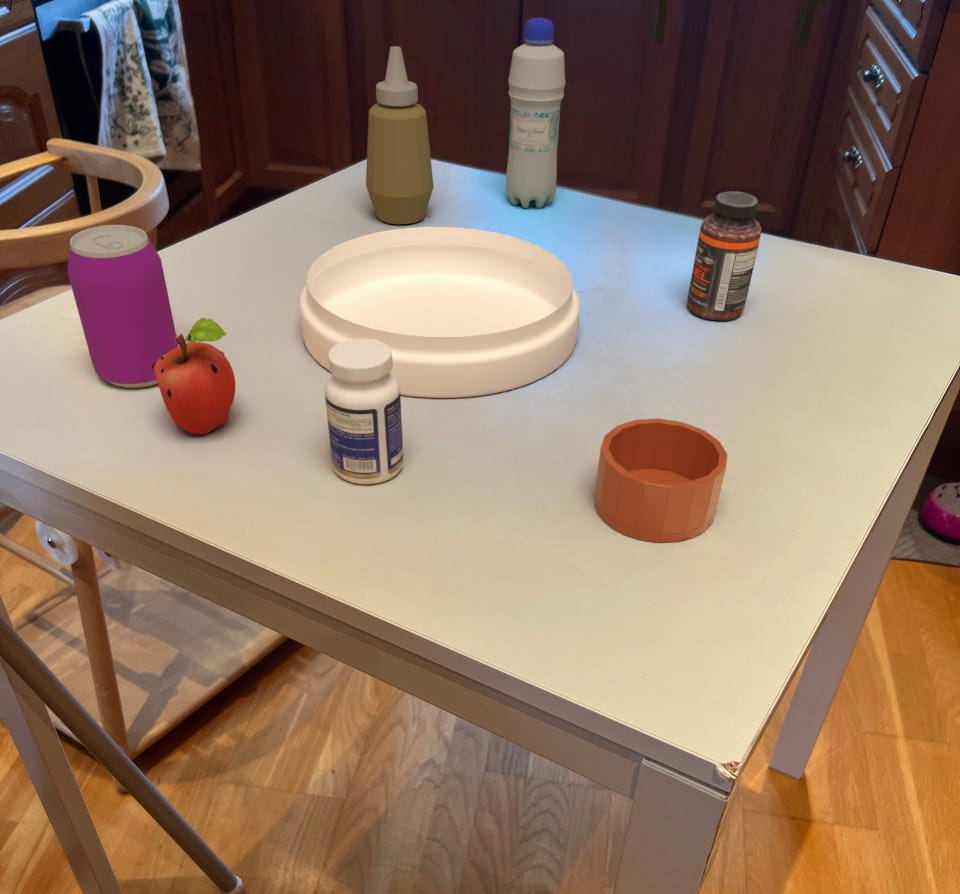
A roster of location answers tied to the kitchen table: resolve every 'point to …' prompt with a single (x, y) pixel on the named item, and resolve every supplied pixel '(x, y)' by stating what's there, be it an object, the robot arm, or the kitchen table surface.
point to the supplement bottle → (725, 257)
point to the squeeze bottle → (398, 148)
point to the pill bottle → (364, 412)
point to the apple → (197, 380)
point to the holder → (659, 479)
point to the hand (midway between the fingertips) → (728, 42)
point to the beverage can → (121, 303)
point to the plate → (445, 308)
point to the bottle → (534, 115)
